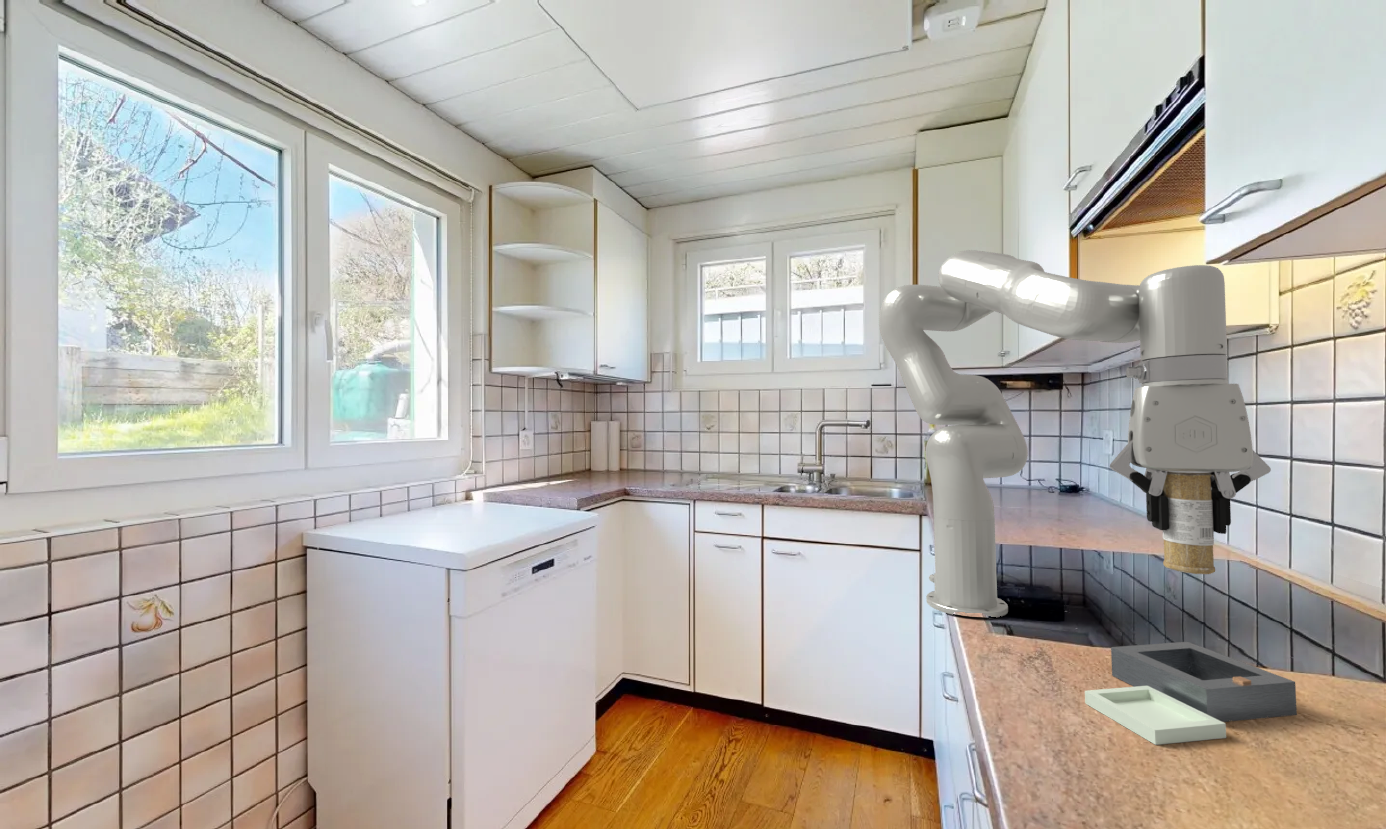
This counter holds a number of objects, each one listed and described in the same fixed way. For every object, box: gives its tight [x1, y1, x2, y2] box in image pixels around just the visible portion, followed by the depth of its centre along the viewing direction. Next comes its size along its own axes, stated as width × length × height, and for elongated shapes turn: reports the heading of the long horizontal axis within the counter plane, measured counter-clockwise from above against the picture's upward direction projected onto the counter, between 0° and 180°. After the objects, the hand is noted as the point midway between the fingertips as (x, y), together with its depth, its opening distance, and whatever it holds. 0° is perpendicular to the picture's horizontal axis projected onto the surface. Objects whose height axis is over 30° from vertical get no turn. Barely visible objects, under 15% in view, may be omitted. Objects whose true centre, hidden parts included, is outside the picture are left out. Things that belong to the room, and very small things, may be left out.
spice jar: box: [1162, 471, 1216, 575], centre depth 62 cm, size 5×5×14 cm
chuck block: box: [1110, 641, 1298, 723], centre depth 62 cm, size 11×11×4 cm
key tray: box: [1084, 686, 1227, 745], centre depth 56 cm, size 8×8×1 cm
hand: (1187, 528), depth 62 cm, fingers closed on spice jar, 4 cm apart
